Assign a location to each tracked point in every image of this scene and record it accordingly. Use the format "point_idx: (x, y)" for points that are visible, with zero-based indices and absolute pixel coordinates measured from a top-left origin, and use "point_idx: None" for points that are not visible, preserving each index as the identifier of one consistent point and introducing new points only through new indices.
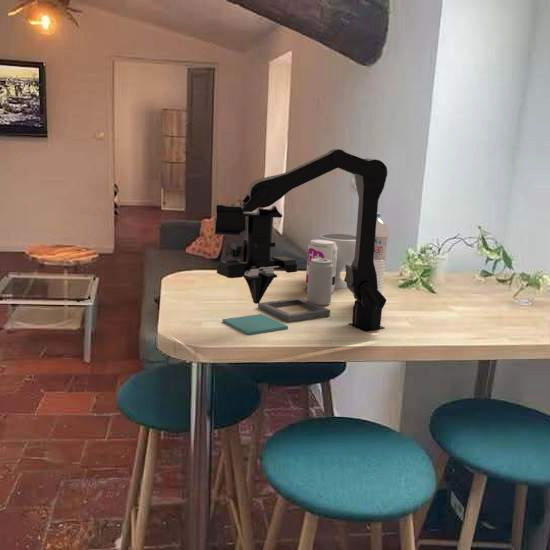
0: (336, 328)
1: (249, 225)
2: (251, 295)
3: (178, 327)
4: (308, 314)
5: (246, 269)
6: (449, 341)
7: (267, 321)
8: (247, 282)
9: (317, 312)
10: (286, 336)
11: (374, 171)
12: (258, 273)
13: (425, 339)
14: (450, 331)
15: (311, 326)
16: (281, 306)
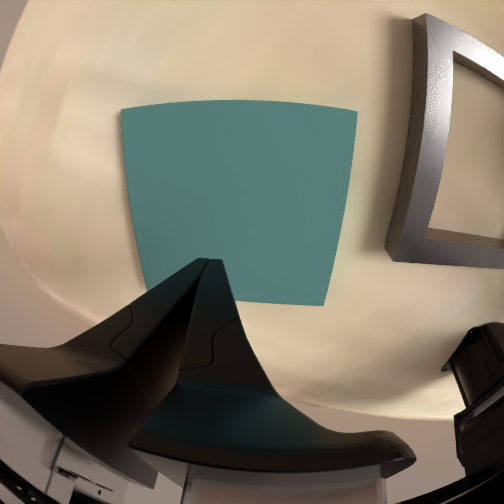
0: (428, 342)
1: None
2: (166, 280)
3: (8, 134)
4: (467, 264)
5: (18, 468)
6: (454, 410)
7: (295, 226)
8: (79, 345)
9: (493, 267)
10: (259, 341)
11: None
12: (122, 497)
13: (448, 404)
14: None
15: (402, 310)
16: (498, 84)
